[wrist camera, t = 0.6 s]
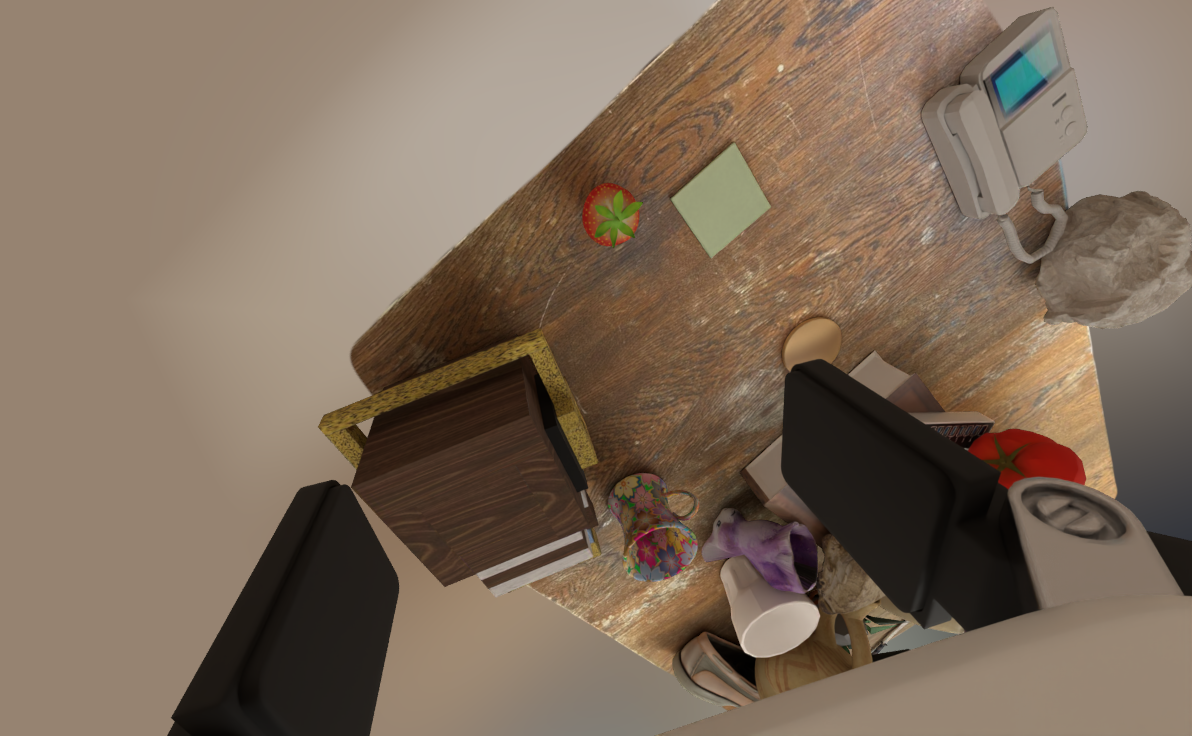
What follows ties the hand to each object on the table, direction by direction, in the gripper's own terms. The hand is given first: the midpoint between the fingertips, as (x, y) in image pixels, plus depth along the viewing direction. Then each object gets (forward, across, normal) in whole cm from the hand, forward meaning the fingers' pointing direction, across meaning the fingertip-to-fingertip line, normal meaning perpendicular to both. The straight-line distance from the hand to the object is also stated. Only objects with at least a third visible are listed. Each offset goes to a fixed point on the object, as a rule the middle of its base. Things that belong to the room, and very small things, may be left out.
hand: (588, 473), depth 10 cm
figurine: (+29, -28, +47) cm, 61 cm away
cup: (+39, -24, +61) cm, 76 cm away
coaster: (+39, -33, +22) cm, 56 cm away
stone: (+27, -67, +22) cm, 76 cm away
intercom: (+36, -63, +14) cm, 74 cm away
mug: (+39, -9, +38) cm, 55 cm away
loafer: (+34, -20, +88) cm, 97 cm away
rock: (+33, -47, +49) cm, 76 cm away
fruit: (+39, -9, 0) cm, 40 cm away
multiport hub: (+32, -46, +34) cm, 66 cm away
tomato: (+23, -54, +39) cm, 71 cm away
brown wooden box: (+33, +5, +40) cm, 52 cm away
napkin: (+38, -21, +2) cm, 44 cm away
